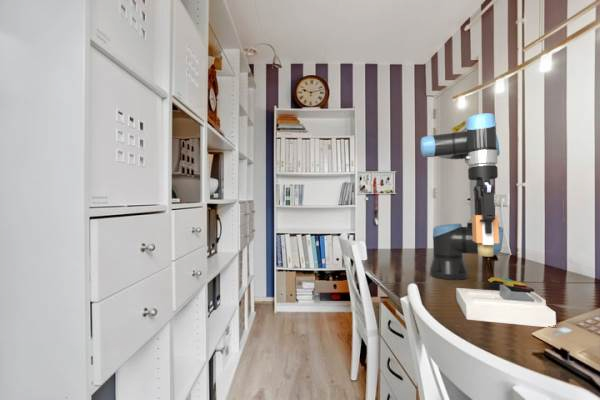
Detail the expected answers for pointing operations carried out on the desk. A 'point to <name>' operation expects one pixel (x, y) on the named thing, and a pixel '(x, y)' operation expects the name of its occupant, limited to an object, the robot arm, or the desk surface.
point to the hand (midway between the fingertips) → (485, 243)
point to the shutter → (514, 295)
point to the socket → (504, 308)
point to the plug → (477, 235)
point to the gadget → (508, 285)
